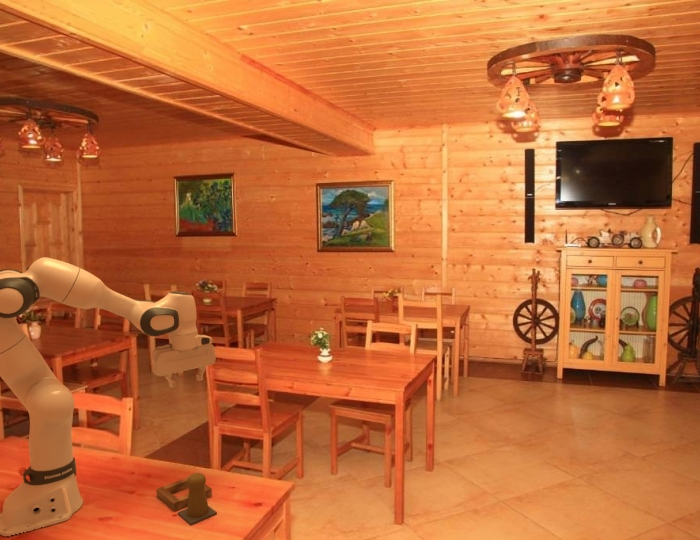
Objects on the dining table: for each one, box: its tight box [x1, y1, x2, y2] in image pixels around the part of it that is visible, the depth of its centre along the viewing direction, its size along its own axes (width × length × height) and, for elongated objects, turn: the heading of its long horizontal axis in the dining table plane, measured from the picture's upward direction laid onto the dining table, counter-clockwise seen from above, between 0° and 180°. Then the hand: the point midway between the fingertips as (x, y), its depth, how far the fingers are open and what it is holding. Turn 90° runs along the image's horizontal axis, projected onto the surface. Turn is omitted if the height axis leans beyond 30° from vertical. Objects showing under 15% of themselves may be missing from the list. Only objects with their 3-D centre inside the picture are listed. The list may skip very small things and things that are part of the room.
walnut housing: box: [155, 476, 213, 513], centre depth 167 cm, size 12×12×2 cm
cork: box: [186, 472, 209, 518], centre depth 157 cm, size 6×6×11 cm
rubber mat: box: [177, 505, 218, 526], centre depth 157 cm, size 8×8×1 cm
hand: (186, 383), depth 177 cm, fingers open, 8 cm apart
